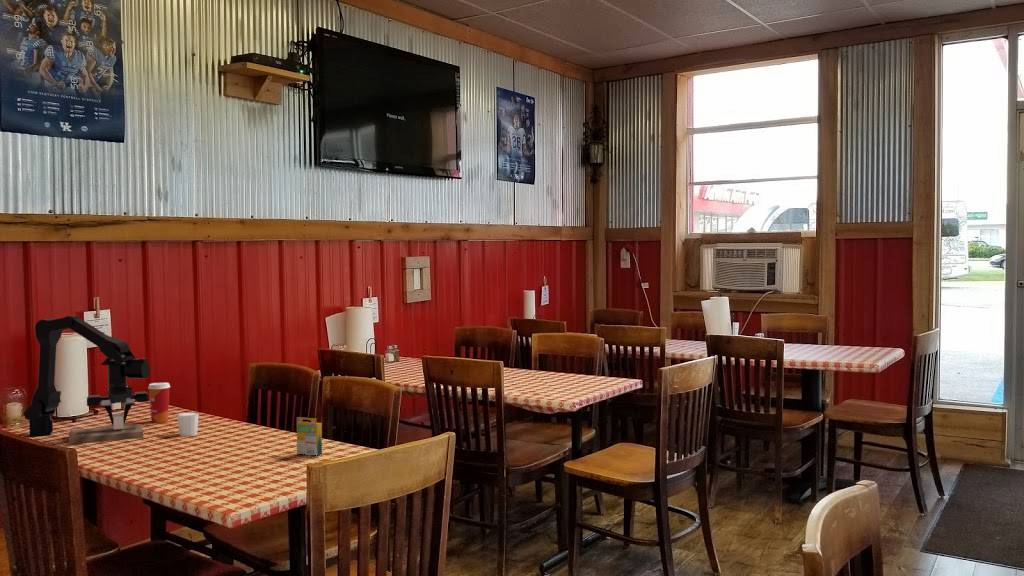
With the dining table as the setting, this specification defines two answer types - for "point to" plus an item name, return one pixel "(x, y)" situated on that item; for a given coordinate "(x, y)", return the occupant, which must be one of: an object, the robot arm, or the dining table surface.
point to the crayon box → (309, 436)
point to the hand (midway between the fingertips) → (118, 423)
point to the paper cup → (159, 402)
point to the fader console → (105, 434)
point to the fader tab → (118, 421)
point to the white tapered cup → (188, 423)
